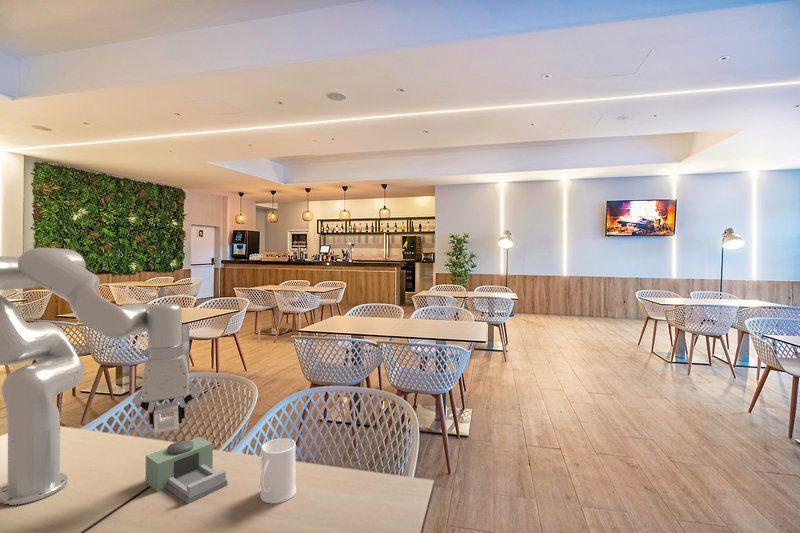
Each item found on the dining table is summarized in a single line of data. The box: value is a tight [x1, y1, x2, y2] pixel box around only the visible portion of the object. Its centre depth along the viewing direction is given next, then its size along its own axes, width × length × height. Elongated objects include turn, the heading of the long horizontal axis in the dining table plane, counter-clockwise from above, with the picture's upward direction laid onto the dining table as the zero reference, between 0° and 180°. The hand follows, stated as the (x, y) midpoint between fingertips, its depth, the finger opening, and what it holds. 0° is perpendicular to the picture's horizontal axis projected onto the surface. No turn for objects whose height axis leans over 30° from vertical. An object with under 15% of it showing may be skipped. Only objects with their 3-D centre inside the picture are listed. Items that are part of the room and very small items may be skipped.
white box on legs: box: [153, 401, 180, 434], centre depth 99 cm, size 8×5×5 cm, turn 27°
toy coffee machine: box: [145, 436, 228, 505], centre depth 102 cm, size 18×14×8 cm
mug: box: [259, 438, 297, 504], centre depth 95 cm, size 12×8×12 cm
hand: (167, 423), depth 99 cm, fingers closed on white box on legs, 4 cm apart
